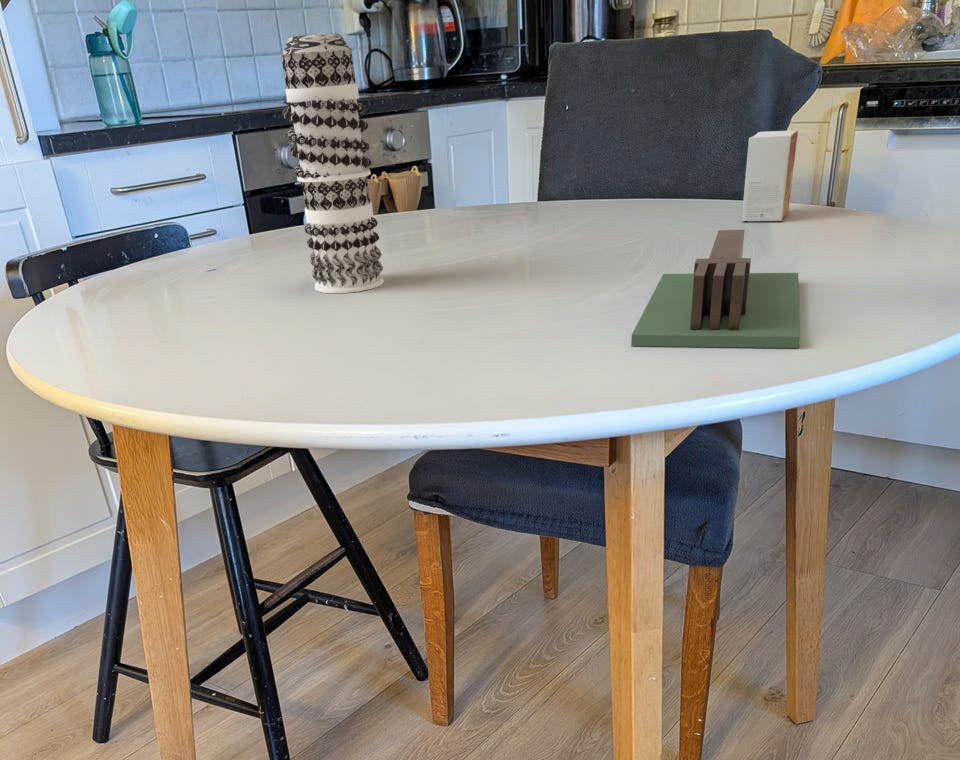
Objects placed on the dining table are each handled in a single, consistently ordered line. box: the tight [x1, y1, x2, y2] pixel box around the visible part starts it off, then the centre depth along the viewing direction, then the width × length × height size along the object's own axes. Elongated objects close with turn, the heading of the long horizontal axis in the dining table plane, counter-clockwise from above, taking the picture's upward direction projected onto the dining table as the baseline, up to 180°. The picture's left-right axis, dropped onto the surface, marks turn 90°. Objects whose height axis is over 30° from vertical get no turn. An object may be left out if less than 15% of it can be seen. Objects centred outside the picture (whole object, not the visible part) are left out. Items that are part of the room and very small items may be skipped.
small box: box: [741, 129, 799, 222], centre depth 122 cm, size 8×6×10 cm
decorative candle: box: [279, 33, 385, 294], centre depth 99 cm, size 9×9×25 cm
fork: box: [690, 229, 752, 330], centre depth 83 cm, size 21×5×4 cm, turn 164°
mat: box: [630, 272, 801, 349], centre depth 84 cm, size 24×14×1 cm, turn 164°
